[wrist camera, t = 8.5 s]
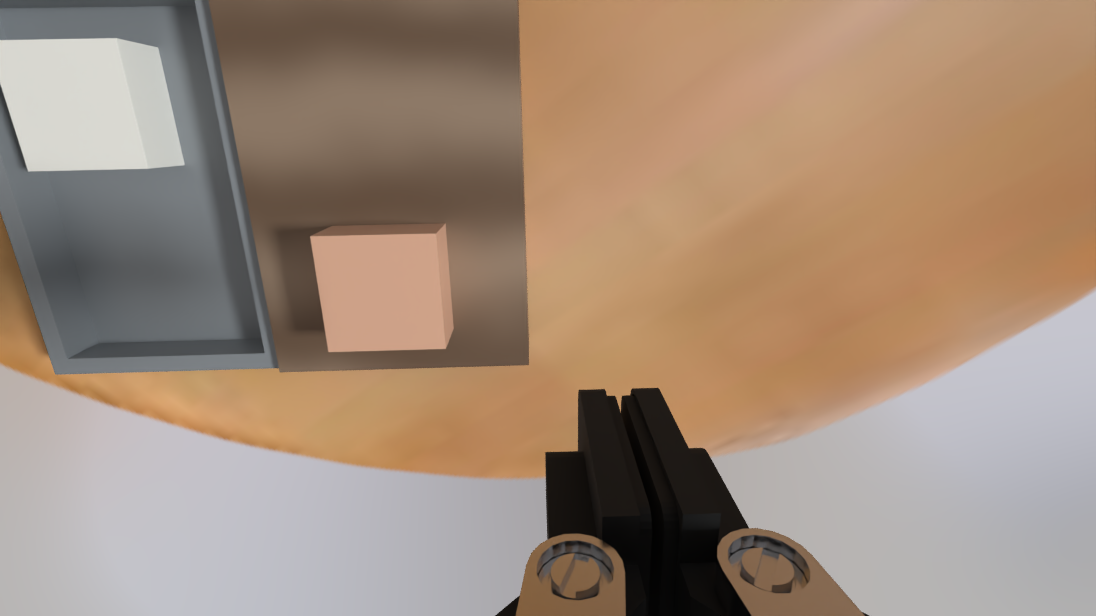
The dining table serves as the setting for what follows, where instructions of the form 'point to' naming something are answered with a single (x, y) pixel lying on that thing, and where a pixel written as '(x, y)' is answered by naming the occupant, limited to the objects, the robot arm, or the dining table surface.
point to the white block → (89, 104)
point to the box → (140, 215)
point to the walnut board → (382, 157)
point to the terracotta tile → (384, 286)
